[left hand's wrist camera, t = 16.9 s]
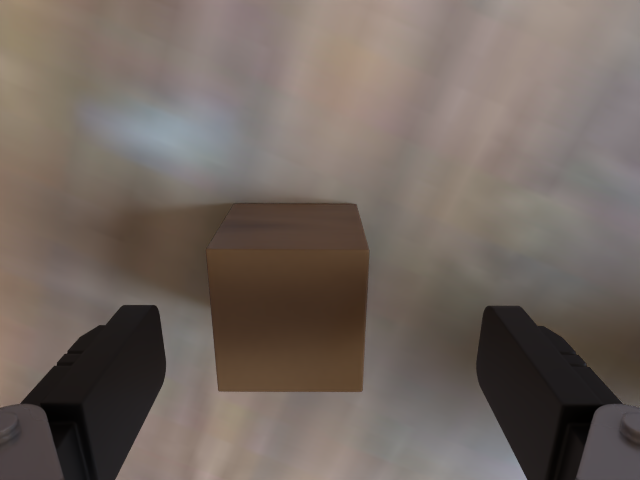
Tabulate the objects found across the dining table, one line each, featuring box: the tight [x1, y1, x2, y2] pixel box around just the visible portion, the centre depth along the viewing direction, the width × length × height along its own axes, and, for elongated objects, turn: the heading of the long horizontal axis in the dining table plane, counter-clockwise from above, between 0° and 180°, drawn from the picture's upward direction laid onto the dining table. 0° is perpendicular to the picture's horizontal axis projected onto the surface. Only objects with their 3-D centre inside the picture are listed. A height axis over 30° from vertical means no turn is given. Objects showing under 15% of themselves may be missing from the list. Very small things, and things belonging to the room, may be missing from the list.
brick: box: [206, 204, 369, 392], centre depth 16 cm, size 5×5×5 cm
